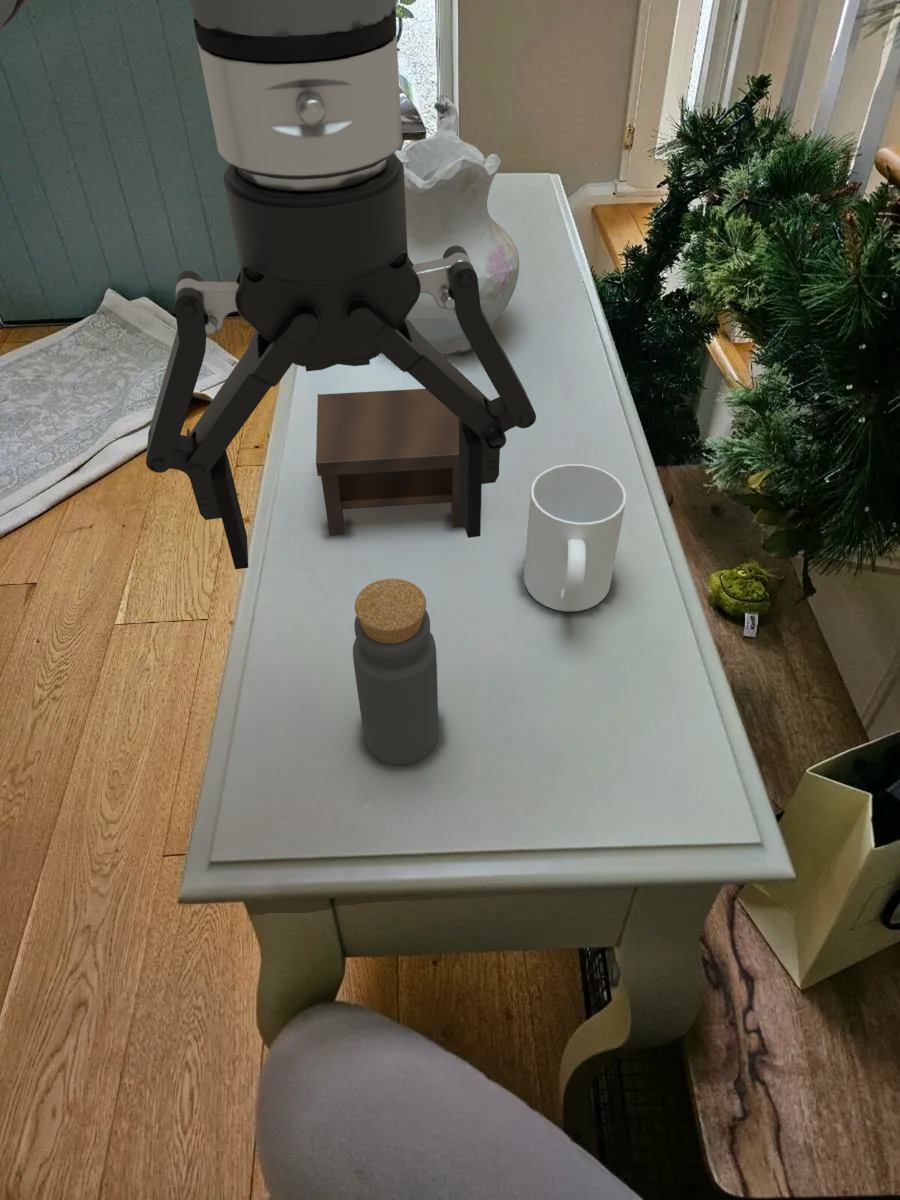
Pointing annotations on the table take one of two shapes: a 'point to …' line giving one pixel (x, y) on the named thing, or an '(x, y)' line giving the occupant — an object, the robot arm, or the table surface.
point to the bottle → (396, 671)
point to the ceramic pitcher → (454, 225)
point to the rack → (386, 452)
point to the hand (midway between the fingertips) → (357, 537)
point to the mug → (573, 536)
